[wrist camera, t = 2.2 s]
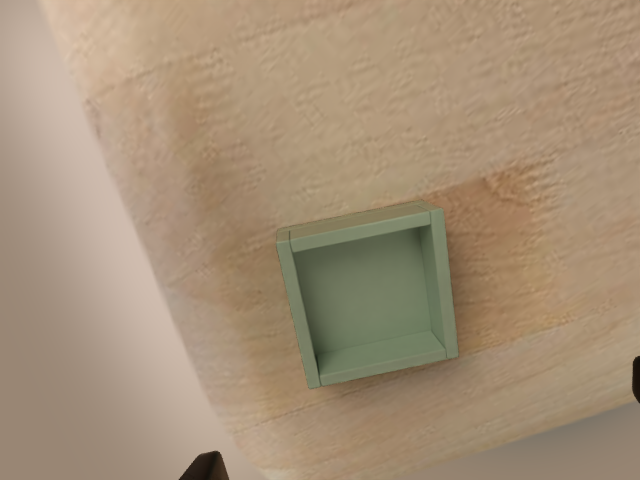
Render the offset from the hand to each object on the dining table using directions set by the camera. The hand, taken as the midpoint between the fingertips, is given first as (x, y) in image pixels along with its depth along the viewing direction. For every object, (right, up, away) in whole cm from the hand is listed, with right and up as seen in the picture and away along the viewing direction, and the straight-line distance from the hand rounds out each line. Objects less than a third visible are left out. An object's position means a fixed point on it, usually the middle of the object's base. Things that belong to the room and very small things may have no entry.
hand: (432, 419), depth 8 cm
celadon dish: (-1, +2, +8) cm, 8 cm away
